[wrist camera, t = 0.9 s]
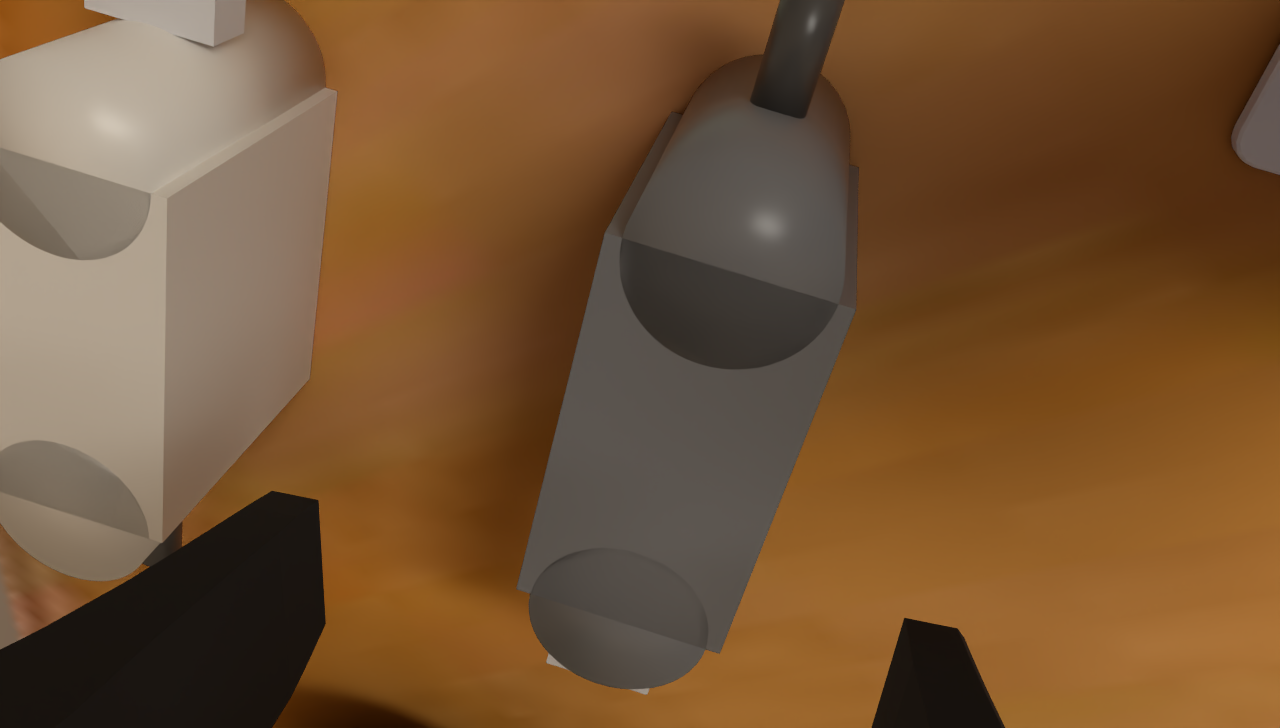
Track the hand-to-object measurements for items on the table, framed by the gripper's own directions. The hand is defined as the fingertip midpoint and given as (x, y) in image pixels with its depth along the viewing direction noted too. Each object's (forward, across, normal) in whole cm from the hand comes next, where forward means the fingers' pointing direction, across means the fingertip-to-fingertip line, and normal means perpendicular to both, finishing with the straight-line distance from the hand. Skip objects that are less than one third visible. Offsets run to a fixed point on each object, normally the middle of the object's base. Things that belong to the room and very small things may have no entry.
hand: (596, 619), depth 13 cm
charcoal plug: (+10, 0, 0) cm, 10 cm away
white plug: (+10, +10, 0) cm, 14 cm away
